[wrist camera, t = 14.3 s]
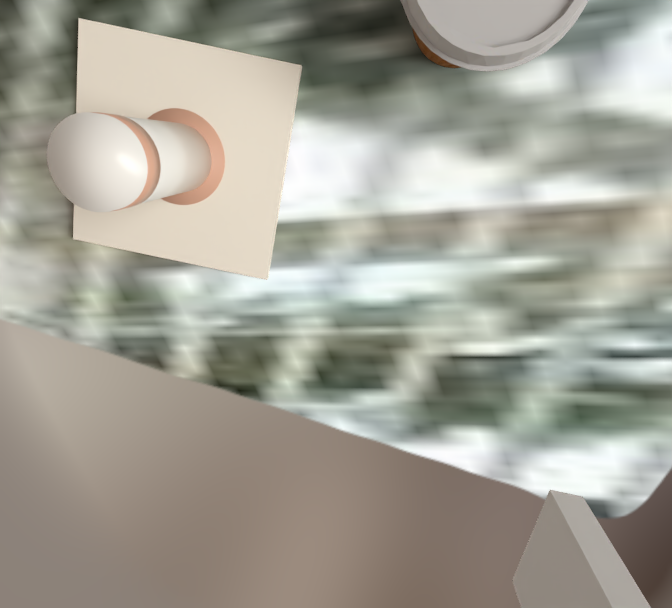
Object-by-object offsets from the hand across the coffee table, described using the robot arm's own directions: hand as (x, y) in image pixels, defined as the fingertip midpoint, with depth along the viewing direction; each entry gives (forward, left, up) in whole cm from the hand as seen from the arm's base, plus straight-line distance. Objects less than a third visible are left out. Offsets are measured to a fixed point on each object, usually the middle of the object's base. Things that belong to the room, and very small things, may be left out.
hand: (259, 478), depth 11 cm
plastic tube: (-4, -13, -28) cm, 31 cm away
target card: (-4, -13, -29) cm, 32 cm away
